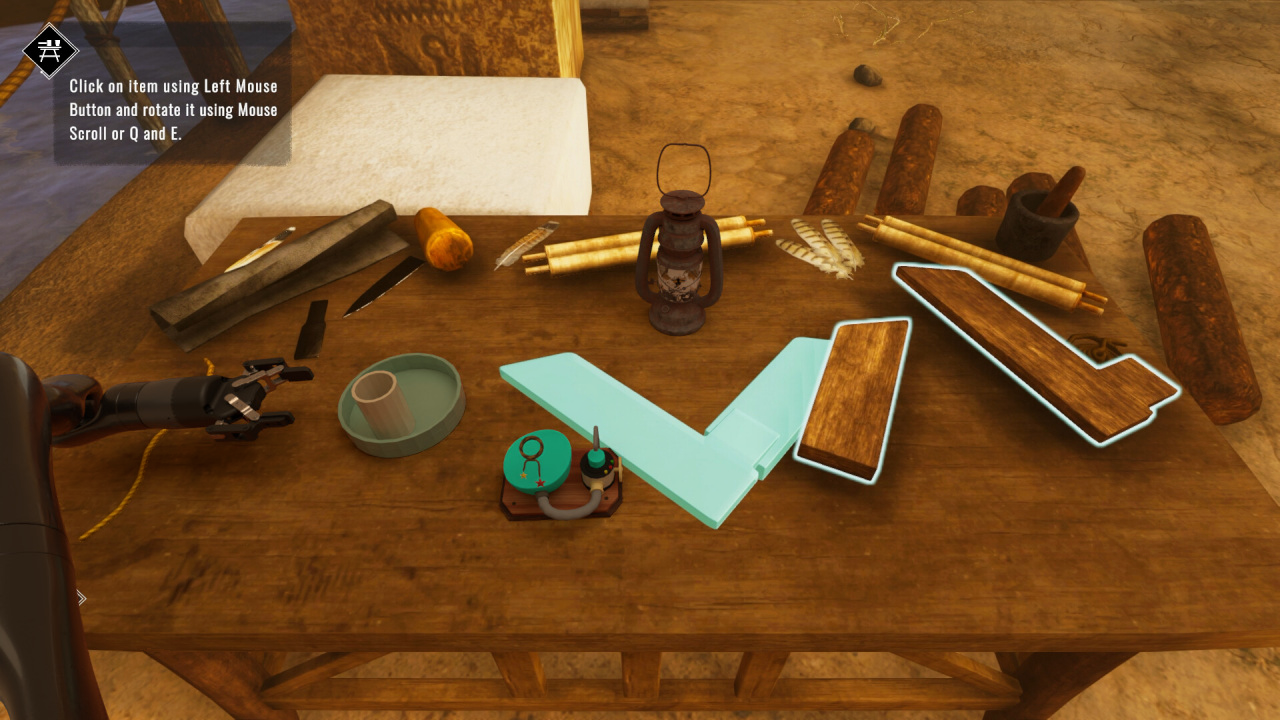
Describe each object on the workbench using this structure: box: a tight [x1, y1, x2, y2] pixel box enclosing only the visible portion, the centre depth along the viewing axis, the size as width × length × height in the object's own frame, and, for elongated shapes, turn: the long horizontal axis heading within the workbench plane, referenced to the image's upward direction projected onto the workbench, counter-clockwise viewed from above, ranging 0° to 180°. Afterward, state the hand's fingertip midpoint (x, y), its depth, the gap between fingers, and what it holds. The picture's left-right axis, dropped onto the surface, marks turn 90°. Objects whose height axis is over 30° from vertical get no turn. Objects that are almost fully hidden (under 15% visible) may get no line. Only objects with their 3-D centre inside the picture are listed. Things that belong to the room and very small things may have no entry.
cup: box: [351, 370, 415, 440], centre depth 89 cm, size 6×6×10 cm
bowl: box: [337, 352, 467, 459], centre depth 94 cm, size 19×19×4 cm
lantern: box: [634, 142, 724, 337], centre depth 99 cm, size 11×16×35 cm
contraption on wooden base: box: [498, 425, 624, 522], centre depth 79 cm, size 14×18×15 cm
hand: (302, 394), depth 84 cm, fingers open, 8 cm apart
